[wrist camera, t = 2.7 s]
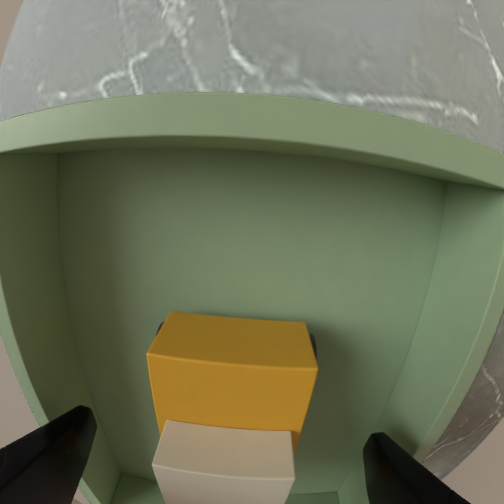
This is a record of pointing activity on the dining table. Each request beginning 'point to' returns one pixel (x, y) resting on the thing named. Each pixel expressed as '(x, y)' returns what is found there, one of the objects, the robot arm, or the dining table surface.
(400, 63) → the dining table surface
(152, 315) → the green box
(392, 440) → the robot arm
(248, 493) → the small car
